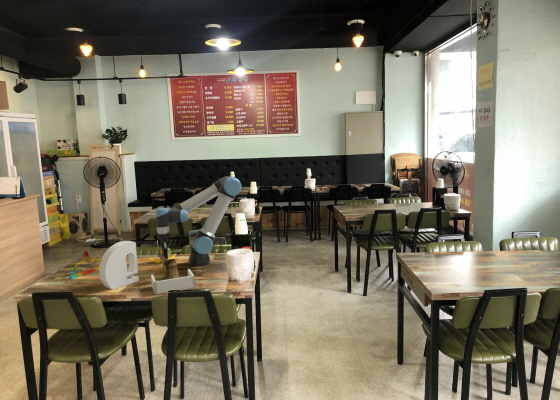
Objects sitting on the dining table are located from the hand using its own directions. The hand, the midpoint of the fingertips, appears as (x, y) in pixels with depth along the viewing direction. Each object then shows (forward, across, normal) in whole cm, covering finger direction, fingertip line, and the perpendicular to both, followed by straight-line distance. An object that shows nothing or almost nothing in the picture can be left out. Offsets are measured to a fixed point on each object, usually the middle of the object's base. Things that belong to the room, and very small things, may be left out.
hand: (166, 268), depth 271 cm
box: (+3, +29, 0) cm, 29 cm away
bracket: (+3, +9, -28) cm, 30 cm away
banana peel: (+3, -30, +1) cm, 30 cm away
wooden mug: (+3, +12, 0) cm, 12 cm away
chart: (+4, -29, -45) cm, 54 cm away
